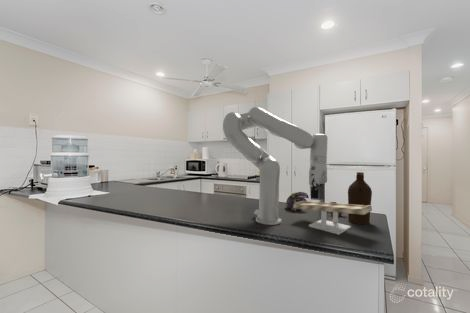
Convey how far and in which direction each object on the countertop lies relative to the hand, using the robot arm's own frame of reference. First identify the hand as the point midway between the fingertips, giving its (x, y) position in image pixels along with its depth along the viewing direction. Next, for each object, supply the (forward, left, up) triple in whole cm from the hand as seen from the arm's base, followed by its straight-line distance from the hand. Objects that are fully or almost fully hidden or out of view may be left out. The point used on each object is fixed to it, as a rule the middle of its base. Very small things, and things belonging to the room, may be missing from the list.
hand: (316, 197), depth 111 cm
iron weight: (0, 0, -1) cm, 1 cm away
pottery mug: (-1, +24, -13) cm, 27 cm away
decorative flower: (-21, +17, -13) cm, 31 cm away
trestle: (+7, 0, -13) cm, 15 cm away
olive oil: (+13, +20, -13) cm, 27 cm away
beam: (+7, 0, -5) cm, 8 cm away
